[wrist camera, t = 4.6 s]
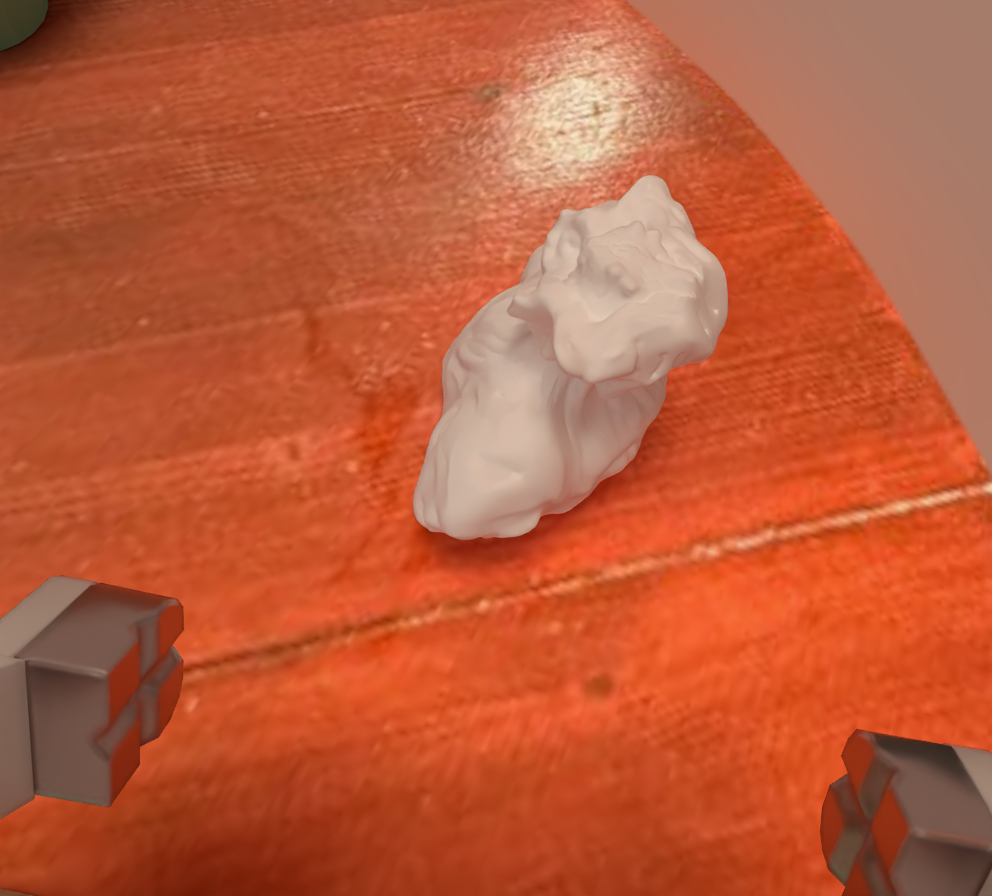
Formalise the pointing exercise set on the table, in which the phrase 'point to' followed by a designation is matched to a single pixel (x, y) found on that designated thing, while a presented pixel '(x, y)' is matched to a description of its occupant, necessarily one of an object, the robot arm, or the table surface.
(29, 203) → the table surface
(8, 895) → the serving tray
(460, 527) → the bust
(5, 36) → the mug
